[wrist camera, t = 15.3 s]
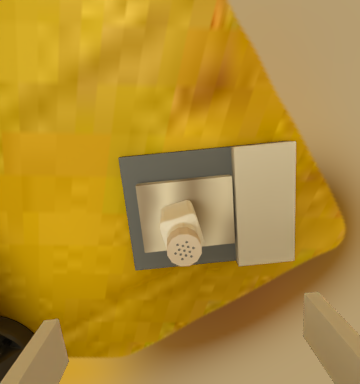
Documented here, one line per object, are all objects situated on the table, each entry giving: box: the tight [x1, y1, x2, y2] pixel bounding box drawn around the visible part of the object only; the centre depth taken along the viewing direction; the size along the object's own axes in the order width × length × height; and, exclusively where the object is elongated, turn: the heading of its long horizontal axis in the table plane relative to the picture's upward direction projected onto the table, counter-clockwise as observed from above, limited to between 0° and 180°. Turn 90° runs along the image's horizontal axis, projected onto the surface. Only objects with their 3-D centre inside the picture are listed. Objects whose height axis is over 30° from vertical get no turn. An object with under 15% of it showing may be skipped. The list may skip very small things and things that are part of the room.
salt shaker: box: [160, 200, 204, 266], centre depth 26 cm, size 4×4×10 cm
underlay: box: [119, 141, 296, 270], centre depth 32 cm, size 22×16×3 cm
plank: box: [136, 174, 235, 253], centre depth 31 cm, size 12×9×2 cm
